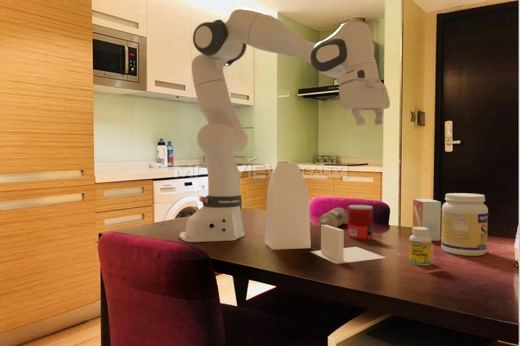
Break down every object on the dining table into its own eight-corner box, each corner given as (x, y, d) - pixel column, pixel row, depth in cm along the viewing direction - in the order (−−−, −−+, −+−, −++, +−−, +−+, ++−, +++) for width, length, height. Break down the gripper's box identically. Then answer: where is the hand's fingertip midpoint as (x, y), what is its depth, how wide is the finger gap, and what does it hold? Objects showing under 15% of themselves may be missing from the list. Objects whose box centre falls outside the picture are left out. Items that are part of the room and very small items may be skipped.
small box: (412, 235, 147) (412, 198, 146) (429, 235, 147) (430, 198, 146) (421, 240, 139) (422, 201, 138) (440, 240, 139) (441, 201, 138)
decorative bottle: (330, 222, 174) (331, 206, 174) (348, 224, 171) (349, 208, 171) (310, 233, 151) (310, 215, 151) (330, 235, 148) (330, 216, 148)
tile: (338, 260, 112) (338, 230, 111) (320, 252, 120) (321, 225, 120) (343, 259, 112) (344, 230, 112) (326, 252, 121) (326, 224, 120)
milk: (300, 241, 138) (300, 162, 136) (310, 249, 126) (311, 163, 125) (264, 243, 135) (264, 162, 134) (271, 251, 124) (271, 163, 123)
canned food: (373, 241, 138) (373, 208, 137) (348, 240, 139) (348, 207, 139) (371, 236, 145) (372, 205, 145) (348, 235, 147) (348, 204, 146)
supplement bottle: (430, 262, 111) (431, 227, 111) (431, 268, 106) (431, 230, 106) (409, 261, 113) (409, 225, 113) (408, 266, 108) (409, 229, 108)
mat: (336, 265, 108) (336, 263, 108) (309, 253, 121) (309, 251, 121) (386, 259, 115) (386, 257, 115) (356, 248, 127) (356, 246, 127)
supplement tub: (486, 259, 116) (488, 197, 115) (438, 253, 122) (439, 195, 121) (487, 249, 126) (488, 193, 125) (443, 245, 132) (444, 191, 131)
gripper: (372, 82, 130) (379, 126, 130) (332, 78, 116) (340, 127, 116) (391, 76, 126) (398, 122, 125) (351, 71, 112) (359, 123, 111)
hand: (370, 124), depth 121 cm, fingers open, 8 cm apart
